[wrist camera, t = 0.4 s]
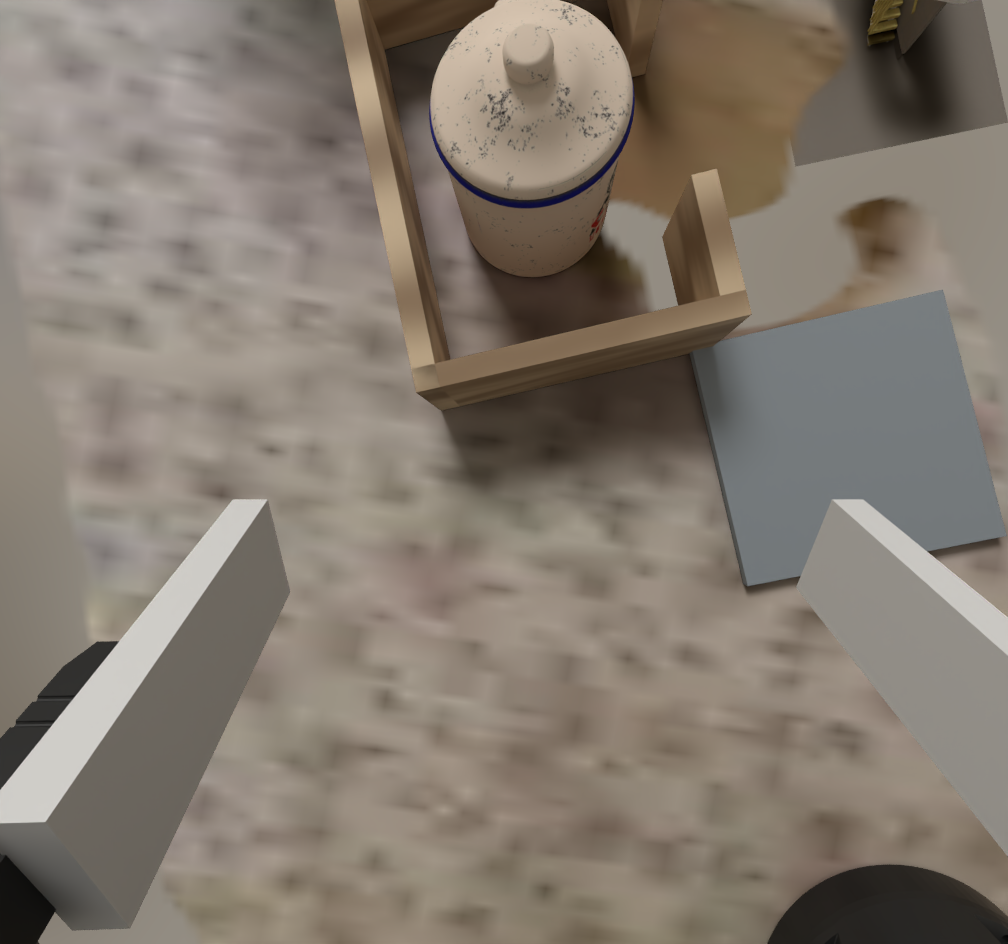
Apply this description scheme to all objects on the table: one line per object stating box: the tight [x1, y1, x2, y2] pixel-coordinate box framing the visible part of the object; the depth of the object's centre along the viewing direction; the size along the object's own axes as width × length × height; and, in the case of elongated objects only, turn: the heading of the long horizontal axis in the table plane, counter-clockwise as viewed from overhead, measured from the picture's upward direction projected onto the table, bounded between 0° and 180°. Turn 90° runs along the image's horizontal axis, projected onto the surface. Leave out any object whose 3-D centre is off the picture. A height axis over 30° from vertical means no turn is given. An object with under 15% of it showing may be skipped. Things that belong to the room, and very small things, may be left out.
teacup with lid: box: [429, 0, 635, 277], centre depth 25 cm, size 12×9×12 cm
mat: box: [690, 290, 1007, 586], centre depth 29 cm, size 14×14×1 cm
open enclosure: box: [335, 0, 751, 411], centre depth 28 cm, size 24×16×6 cm
